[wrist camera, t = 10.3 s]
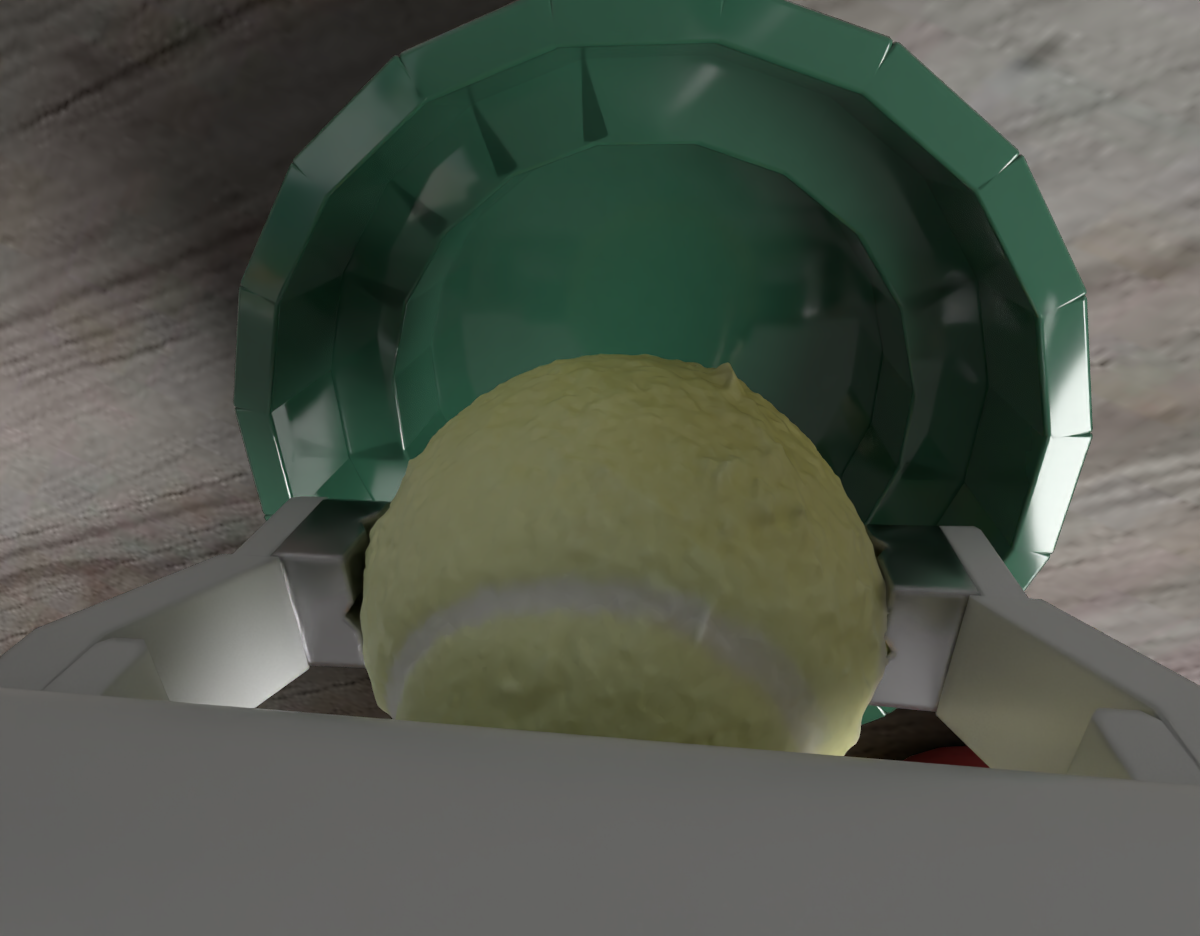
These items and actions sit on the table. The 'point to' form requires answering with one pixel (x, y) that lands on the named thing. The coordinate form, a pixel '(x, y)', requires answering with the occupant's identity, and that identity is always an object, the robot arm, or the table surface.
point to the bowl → (675, 257)
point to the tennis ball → (626, 567)
